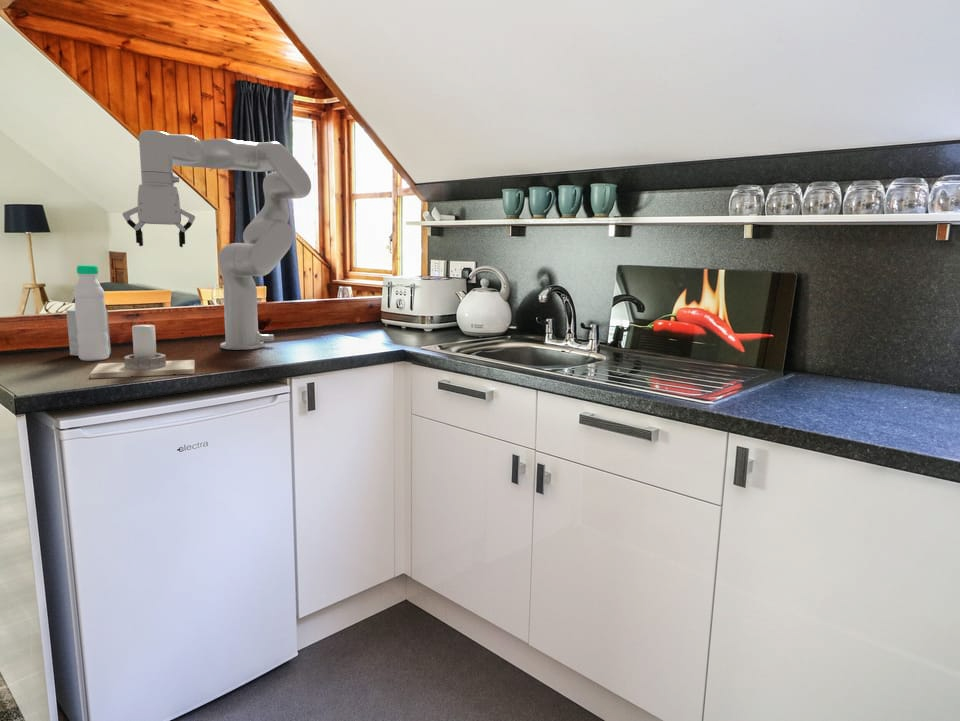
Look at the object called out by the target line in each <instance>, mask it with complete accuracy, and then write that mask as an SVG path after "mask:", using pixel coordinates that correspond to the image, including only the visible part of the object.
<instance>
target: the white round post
mask: <svg viewBox="0 0 960 721" xmlns="http://www.w3.org/2000/svg"><path fill="white" fill-rule="evenodd" d="M131 330H132V332H131V334H132V346H133V347H132V348H133V354H134V359H147V358H156V357H157V353H158V352H157V339H156V338H157V337H156V326H155V324H135V325H132V326H131Z"/></svg>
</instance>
